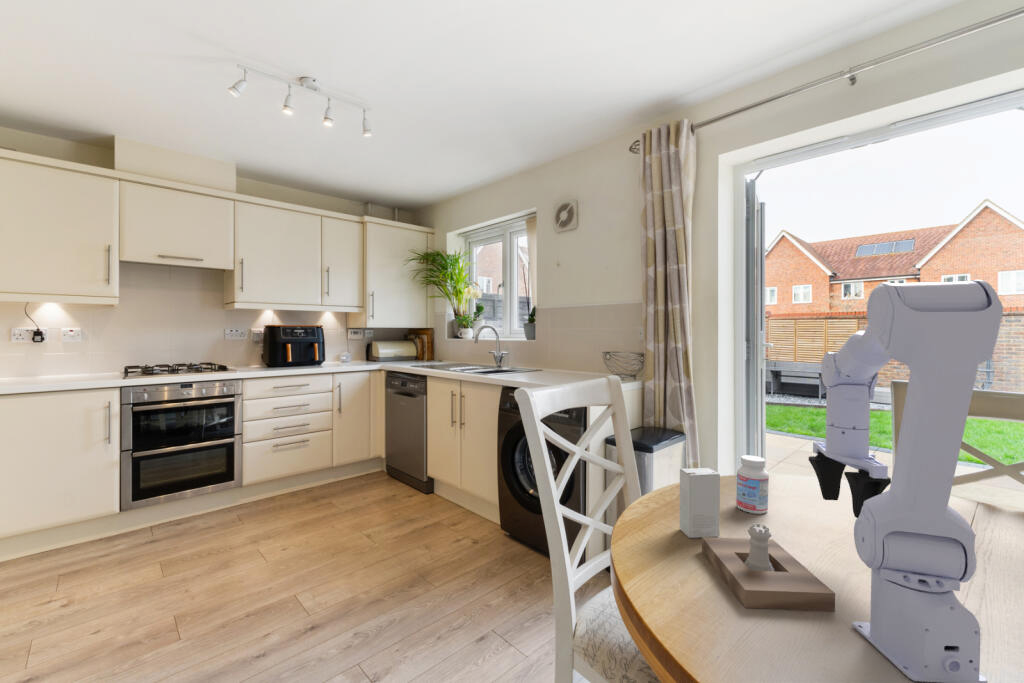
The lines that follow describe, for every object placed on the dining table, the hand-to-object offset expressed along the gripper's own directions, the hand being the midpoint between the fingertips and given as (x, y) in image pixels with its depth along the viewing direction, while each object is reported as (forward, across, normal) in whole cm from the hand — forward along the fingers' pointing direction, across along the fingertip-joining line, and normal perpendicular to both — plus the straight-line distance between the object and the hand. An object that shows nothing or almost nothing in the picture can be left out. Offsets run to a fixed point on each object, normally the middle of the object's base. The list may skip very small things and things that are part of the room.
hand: (845, 508), depth 73 cm
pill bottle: (+10, +23, +4) cm, 25 cm away
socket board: (+9, -5, +16) cm, 19 cm away
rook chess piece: (+10, -5, +16) cm, 19 cm away
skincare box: (+10, +10, +20) cm, 24 cm away
